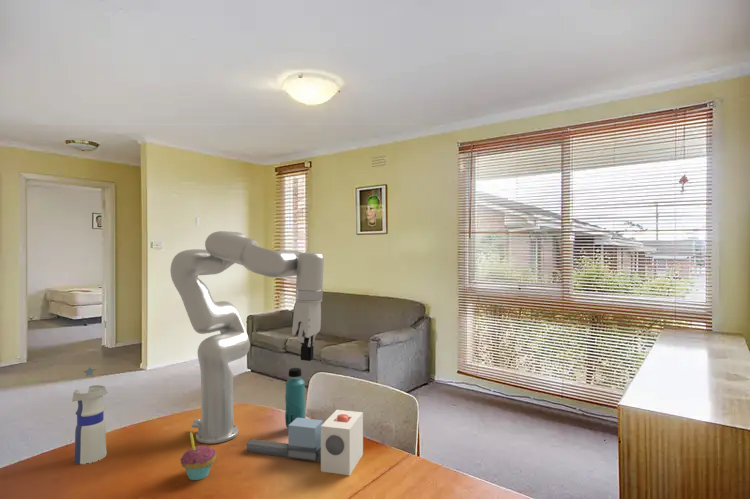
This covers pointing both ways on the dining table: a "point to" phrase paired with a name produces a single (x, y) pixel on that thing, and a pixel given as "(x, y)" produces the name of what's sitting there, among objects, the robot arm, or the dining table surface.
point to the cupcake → (198, 460)
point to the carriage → (304, 438)
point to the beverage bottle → (294, 396)
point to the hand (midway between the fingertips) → (306, 359)
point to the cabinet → (341, 443)
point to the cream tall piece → (90, 424)
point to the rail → (274, 449)
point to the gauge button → (342, 418)
